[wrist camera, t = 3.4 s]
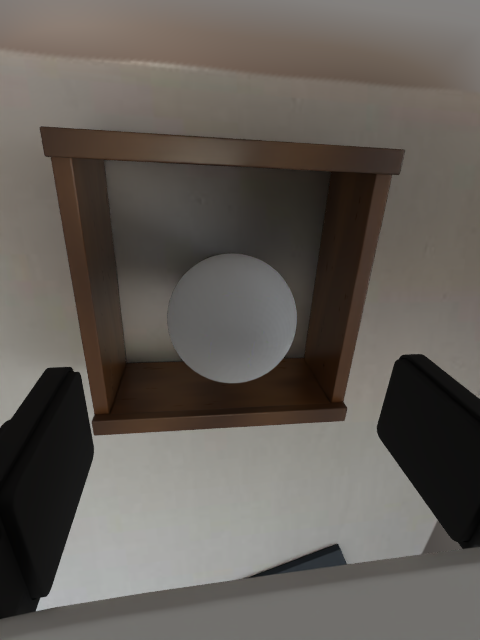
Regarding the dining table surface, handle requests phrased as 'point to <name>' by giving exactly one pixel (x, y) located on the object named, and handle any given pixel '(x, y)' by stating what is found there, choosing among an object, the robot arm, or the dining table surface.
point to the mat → (310, 562)
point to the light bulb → (232, 318)
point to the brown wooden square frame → (177, 377)
